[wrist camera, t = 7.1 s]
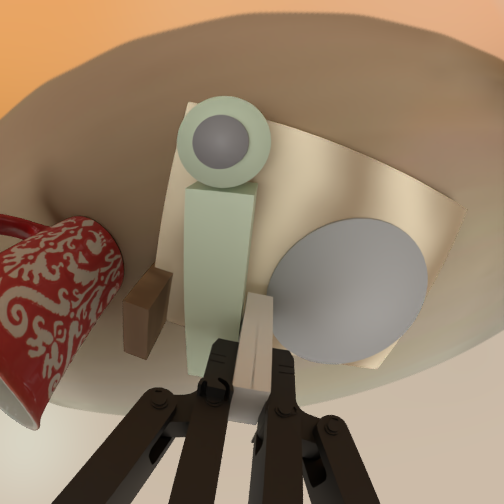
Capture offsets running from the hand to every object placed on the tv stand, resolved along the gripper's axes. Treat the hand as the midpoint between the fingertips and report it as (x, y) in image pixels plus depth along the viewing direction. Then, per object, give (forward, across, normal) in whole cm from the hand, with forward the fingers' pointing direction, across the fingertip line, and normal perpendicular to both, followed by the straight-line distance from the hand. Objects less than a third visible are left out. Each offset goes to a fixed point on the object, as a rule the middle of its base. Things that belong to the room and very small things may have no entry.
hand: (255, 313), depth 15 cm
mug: (+4, -15, 0) cm, 15 cm away
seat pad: (+2, +6, +1) cm, 6 cm away
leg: (+1, -2, +3) cm, 4 cm away
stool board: (+4, +3, +3) cm, 5 cm away
